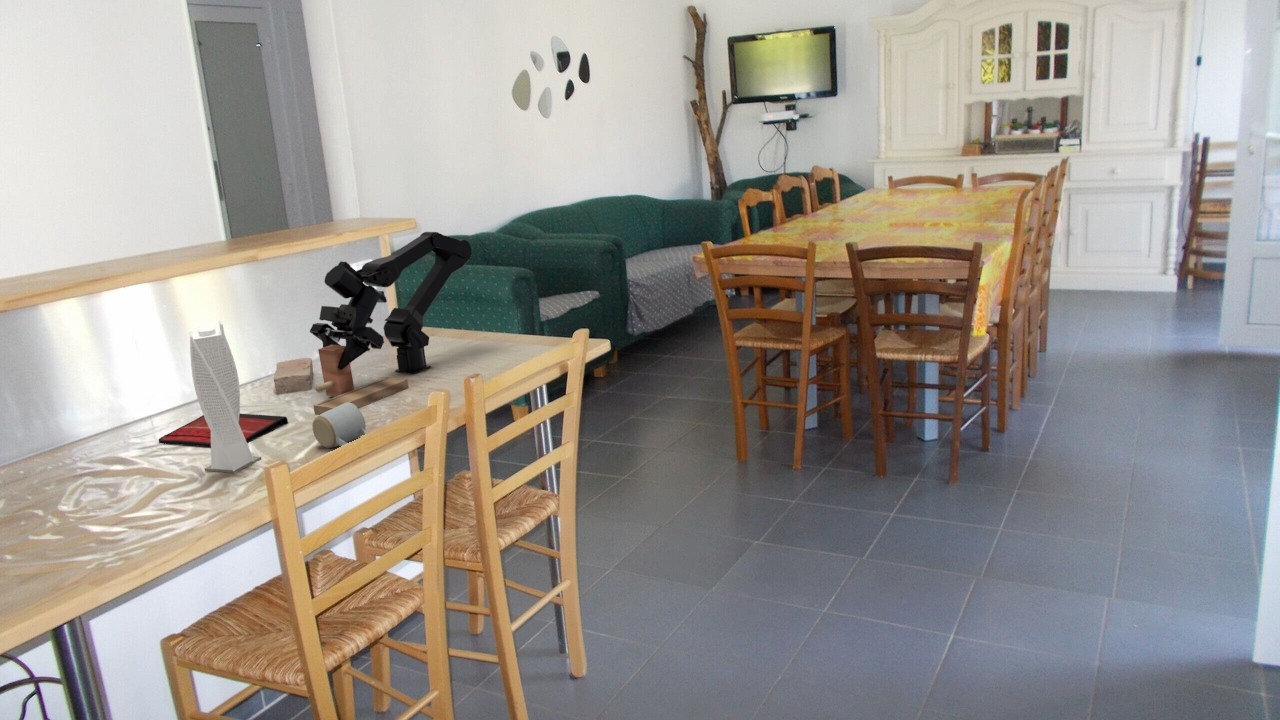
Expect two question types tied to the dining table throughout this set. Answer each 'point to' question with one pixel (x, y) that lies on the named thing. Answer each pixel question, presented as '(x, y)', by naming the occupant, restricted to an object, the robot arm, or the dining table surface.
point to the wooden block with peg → (334, 372)
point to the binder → (201, 432)
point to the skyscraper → (219, 399)
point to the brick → (293, 376)
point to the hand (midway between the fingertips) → (331, 368)
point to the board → (364, 394)
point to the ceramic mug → (339, 425)
